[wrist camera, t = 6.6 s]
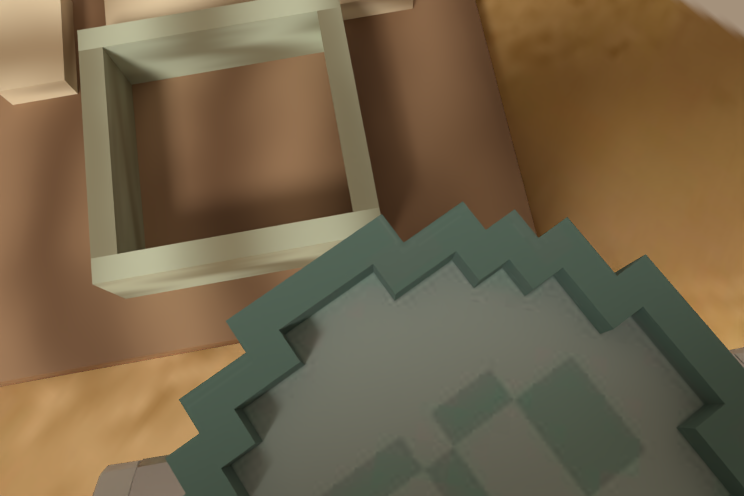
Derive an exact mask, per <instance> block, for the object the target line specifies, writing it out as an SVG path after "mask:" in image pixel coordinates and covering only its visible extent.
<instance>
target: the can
mask: <svg viewBox="0 0 744 496" xmlns="http://www.w3.org/2000/svg"><path fill="white" fill-rule="evenodd" d="M226 323H227V324H228V326H229V327H230V329H231V330H232V332H233V333H234V335H235V336H236V338H237V339H238V341H239V343H240V344H241V346H242V347H243V349H244V350H245V352H246V353H245V354H243V355H242V356H241V357H239V358H238V359H236V360H235V361H233V362H232V363H231V364H229V365H228V366H226V367H225V368H223V369H222V370H221V371H219V372H218V373H216V374H215V375H213V376H212V377H210V378H209V379H208V380H206V381H205V382H203V383H202V384H200V385H199V386H198V387H196V388H195V389H193V390H192V391H190V392H189V393H188V394H186V395H185V396H183V397H182V398H180V399H179V400H180V402H181V404H182V405H183V407H184V409H185V410H186V412H187V413H188V415H189V417H190V418H191V420H192V422H193V423H194V425H195V427H196V428H197V430H198V431H199V434H198V435H197V436H195V437H194V438H192V439H191V440H190V441H188V442H187V443H185V444H184V445H183V446H181V447H180V448H178V449H177V450H176V451H174V452H173V453H171V454H170V455H169V456H167V457H166V458H165V459H166V461H167V463H168V464H169V466H170V468H171V469H172V471H173V473H174V475H175V476H176V478H177V480H178V481H179V483H180V485H181V486H182V488H183V490H184V491H185V493H186V494H185V495H183V496H744V367H743V366H742V365H741V364H740V363H739V362H738V360H737V359H736V358H735V357H734V356H733V355H732V354H731V352H730V351H729V350H728V349H727V348H726V347H725V345H724V344H723V343H722V342H721V341H720V340H719V339H718V337H717V336H716V335H715V334H714V333H713V332H712V330H711V329H710V328H709V327H708V326H707V325H706V324H705V322H704V321H703V320H702V319H701V318H700V317H699V315H698V314H697V313H696V312H695V311H694V310H693V309H692V307H691V306H690V305H689V304H688V303H687V302H686V300H685V299H684V298H683V297H682V296H681V295H680V294H679V292H678V291H677V290H676V289H675V288H674V287H673V285H672V284H671V283H670V282H669V281H668V280H667V278H666V277H665V276H664V275H663V274H662V273H661V272H660V270H659V269H658V268H657V267H656V266H655V265H654V263H653V262H652V261H651V260H650V259H649V258H648V257H647V255H646V254H645V255H644V256H642V257H640V258H639V259H637V260H635V261H634V262H632V263H630V264H629V265H627V266H625V267H624V268H622V269H620V270H619V271H617V272H615V273H614V272H613V271H612V269H611V268H610V267H609V266H608V265H607V263H606V262H605V261H604V260H603V259H602V258H601V256H600V255H599V254H598V253H597V252H596V250H595V249H594V248H593V247H592V246H591V245H590V243H589V242H588V241H587V240H586V239H585V237H584V236H583V235H582V234H581V233H580V232H579V230H578V229H577V228H576V227H575V226H574V224H573V223H572V222H571V221H570V220H569V218H568V217H567V218H565V219H564V220H563V221H561V222H560V223H558V224H557V225H556V226H554V227H553V228H552V229H550V230H549V231H547V232H546V233H545V234H543V235H542V236H540V237H539V238H538V237H537V235H536V234H535V233H534V232H533V231H532V229H531V228H530V227H529V226H528V224H527V223H526V222H525V221H524V220H523V218H522V217H521V216H520V215H519V214H518V212H517V211H516V210H515V209H514V210H513V211H512V212H510V213H509V214H507V215H506V216H504V217H503V218H502V219H500V220H499V221H497V222H496V223H495V224H493V225H492V226H490V227H489V228H488V229H485V228H484V227H483V226H482V224H481V223H480V222H479V221H478V219H477V218H476V217H475V216H474V214H473V213H472V212H471V211H470V209H469V208H468V207H467V206H466V204H465V203H464V202H461V203H460V204H458V205H457V206H455V207H454V208H453V209H451V210H450V211H448V212H447V213H445V214H444V215H443V216H441V217H440V218H438V219H437V220H435V221H434V222H432V223H431V224H430V225H428V226H427V227H425V228H424V229H422V230H421V231H420V232H418V233H417V234H415V235H414V236H412V237H411V238H410V239H408V240H407V241H405V242H403V241H402V240H401V238H400V237H399V236H398V234H397V233H396V232H395V231H394V229H393V228H392V227H391V225H390V224H389V223H388V221H387V220H386V219H385V217H384V216H383V215H382V214H381V215H379V216H378V217H376V218H375V219H373V220H372V221H371V222H369V223H368V224H366V225H365V226H363V227H362V228H360V229H359V230H357V231H356V232H355V233H353V234H352V235H350V236H349V237H347V238H346V239H344V240H343V241H341V242H340V243H338V244H337V245H336V246H334V247H333V248H331V249H330V250H328V251H327V252H325V253H324V254H322V255H321V256H319V257H318V258H317V259H315V260H314V261H312V262H311V263H309V264H308V265H306V266H305V267H303V268H302V269H301V270H299V271H298V272H296V273H295V274H293V275H292V276H290V277H289V278H287V279H286V280H284V281H283V282H282V283H280V284H279V285H277V286H276V287H274V288H273V289H271V290H270V291H268V292H267V293H266V294H264V295H263V296H261V297H260V298H258V299H257V300H255V301H254V302H252V303H251V304H249V305H248V306H247V307H245V308H244V309H242V310H241V311H239V312H238V313H236V314H235V315H233V316H232V317H231V318H229V319H228V320H226Z"/></svg>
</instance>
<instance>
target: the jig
mask: <svg viewBox="0 0 744 496" xmlns="http://www.w3.org/2000/svg"><path fill="white" fill-rule="evenodd" d="M71 1H72V2H73V19H74V37H75V54H76V71H77V88H78V94H74V95H68V96H62V97H57V98H51V99H45V100H39V101H33V102H27V103H21V104H15V105H12V104H11V103H10V102H9V101H7V100H6V99H5V98H4V97H2V96H1V95H0V386H6V385H11V384H17V383H22V382H28V381H33V380H39V379H44V378H50V377H55V376H61V375H66V374H72V373H77V372H83V371H88V370H94V369H99V368H105V367H110V366H116V365H121V364H127V363H132V362H138V361H143V360H149V359H154V358H160V357H165V356H171V355H176V354H182V353H187V352H193V351H198V350H204V349H209V348H215V347H220V346H226V345H231V344H236V343H239V341H238V339H237V338H236V336H235V335H234V333H233V332H232V330H231V329H230V327H229V326H228V324H227V323H226V320H228V319H229V318H231V317H232V316H233V315H235V314H236V313H238V312H239V311H241V310H242V309H244V308H245V307H247V306H248V305H249V304H251V303H252V302H254V301H255V300H257V299H258V298H260V297H261V296H263V295H264V294H266V293H267V292H268V291H270V290H271V289H273V288H274V287H276V286H277V285H279V284H280V283H282V282H283V281H284V280H286V279H287V278H289V277H290V276H292V275H293V274H295V273H296V272H298V271H299V270H301V269H302V268H303V267H305V266H306V265H308V264H309V263H311V262H312V261H314V260H315V259H317V258H318V257H319V256H321V255H322V254H324V253H325V252H327V251H328V250H330V249H331V248H333V247H334V246H336V245H337V244H338V243H340V242H341V241H343V240H344V239H346V238H347V237H349V236H350V235H352V234H353V233H355V232H356V231H357V230H359V229H360V228H362V227H363V226H365V225H366V224H368V223H369V222H371V221H372V220H373V219H375V218H376V217H378V216H379V215H381V214H382V215H383V216H384V217H385V219H386V220H387V221H388V223H389V224H390V225H391V227H392V228H393V229H394V231H395V232H396V233H397V234H398V236H399V237H400V238H401V240H402V241H403V242H405V241H407V240H408V239H410V238H411V237H412V236H414V235H415V234H417V233H418V232H420V231H421V230H422V229H424V228H425V227H427V226H428V225H430V224H431V223H432V222H434V221H435V220H437V219H438V218H440V217H441V216H443V215H444V214H445V213H447V212H448V211H450V210H451V209H453V208H454V207H455V206H457V205H458V204H460V203H461V202H464V203H465V204H466V206H467V207H468V208H469V209H470V211H471V212H472V213H473V214H474V216H475V217H476V218H477V219H478V221H479V222H480V223H481V224H482V226H483V227H484V228H485V229H488V228H489V227H490V226H492V225H493V224H495V223H496V222H497V221H499V220H500V219H502V218H503V217H504V216H506V215H507V214H509V213H510V212H512V211H513V210H514V209H515V210H516V211H517V212H518V214H519V215H520V216H521V217H522V218H523V220H524V221H525V222H526V223H527V224H528V226H529V227H530V228H531V229H532V231H533V232H534V233H535V234H536V230H535V226H534V223H533V219H532V215H531V211H530V207H529V203H528V200H527V196H526V192H525V188H524V184H523V181H522V177H521V173H520V169H519V165H518V161H517V158H516V154H515V150H514V146H513V142H512V139H511V135H510V131H509V127H508V123H507V119H506V116H505V112H504V108H503V104H502V100H501V97H500V93H499V89H498V85H497V81H496V77H495V74H494V70H493V66H492V62H491V58H490V55H489V51H488V47H487V43H486V39H485V35H484V32H483V28H482V24H481V20H480V16H479V13H478V9H477V5H476V1H475V0H413V9H407V10H401V11H395V12H390V13H384V14H378V15H372V16H366V17H360V18H354V19H348V20H343V17H342V12H341V7H340V2H339V0H256V1H250V2H244V3H238V4H232V5H226V6H220V7H214V8H208V9H202V10H196V11H190V12H184V13H178V14H172V15H166V16H160V17H154V18H148V19H142V20H136V21H130V22H124V23H118V24H112V25H107V26H106V17H105V3H104V0H71ZM536 235H537V234H536Z"/></svg>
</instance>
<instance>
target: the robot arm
mask: <svg viewBox="0 0 744 496" xmlns="http://www.w3.org/2000/svg"><path fill="white" fill-rule="evenodd" d="M729 351H730V352H731V354H732V355H733V356H734V357H735V358H736V359H737V360H738V362H739V363H740V364H741V365H742V366H743V367H744V347H743V348H738V349H733V350H729ZM167 456H169V455H166V456H159V457H153V458H147V459H143V460H139V461H133V462H126V463H120V464H114V465H108V466H107V467H106V468H105V469H104V471H103V472H102V473H101V474H100V476H99V478H98V481H97V484H96V487H95V490H94V493H93V495H92V496H183V495H185V494H186V493H185V491H184V490H183V488H182V486H181V485H180V483H179V481H178V480H177V478H176V476H175V475H174V473H173V471H172V469H171V468H170V466H169V464H168V463H167V461H166V459H165V458H166V457H167Z"/></svg>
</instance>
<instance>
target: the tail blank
mask: <svg viewBox="0 0 744 496" xmlns="http://www.w3.org/2000/svg"><path fill="white" fill-rule="evenodd" d="M74 94H78V88H77V71H76V54H75V37H74V19H73V2H72V1H71V0H0V95H1V96H2V97H4V98H5V99H6V100H7V101H9V102H10V103H11V104H12V105H15V104H21V103H27V102H33V101H39V100H45V99H51V98H57V97H62V96H68V95H74Z"/></svg>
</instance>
